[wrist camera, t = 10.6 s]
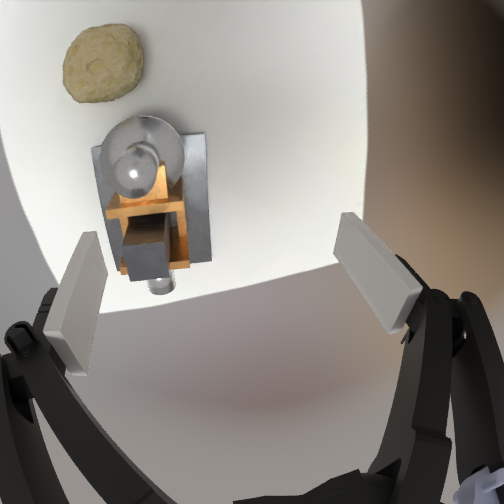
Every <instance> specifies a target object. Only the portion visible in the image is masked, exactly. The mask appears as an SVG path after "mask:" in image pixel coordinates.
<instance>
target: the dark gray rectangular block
mask: <svg viewBox="0 0 504 504" xmlns="http://www.w3.org/2000/svg"><path fill="white" fill-rule="evenodd" d="M170 240H171V216H170V212H164V213H155V214H146V215H138V216H130V219H129V223H128V226H127V229H126V232H125V236H124V239H123V243H122V246H121V247H122V251H123V255H124V259H125V263H126V267H127V271H128V275H129V278H130V282H132V281H141V280H151V279H160V278H170Z"/></svg>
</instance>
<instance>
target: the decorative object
mask: <svg viewBox="0 0 504 504" xmlns="http://www.w3.org/2000/svg"><path fill="white" fill-rule="evenodd" d="M143 61H144V59H143V52H142V48H141V44H140V42H139V40H138V36H137V35H136V32H135V31H134V30H133V29H132V28H130V27H129V26H127V25H124V24H108V25H103V26H101V27H91V28H89V29H87V30H84V31H83V32H81V34H80V35H78V36H77V37H76V39H75V40H74V41H73V42H72V44H71V46H70V47H69V49H68V50H67V53H66V57H65V60H64V63H63V85H64V86H65V87H66V90H67V92H68V93H69V94H70V95H71V96H72V97H73V99H74V100H75V101H77V102H79V103H98V102H107V101H113V100H115V99H116V98H120V97H122V96H123V95H125V94H126V93H128V92H130V91H131V90H132V89H133V88H134V87H135V86H136V85H137V83H138V81H139V79H140V78H141V72H142V67H143Z"/></svg>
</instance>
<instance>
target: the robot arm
mask: <svg viewBox="0 0 504 504" xmlns="http://www.w3.org/2000/svg"><path fill="white" fill-rule="evenodd" d="M333 254H334V255H335V257H336V258H337V259H338V261H339V262H340V264H341V265H342V266H343V268H344V269H345V271H346V272H347V274H348V275H349V276H350V278H351V279H352V281H353V282H354V284H355V285H356V286H357V288H358V289H359V291H360V292H361V294H362V295H363V297H364V298H365V300H366V301H367V303H368V304H369V306H370V307H371V309H372V310H373V312H374V313H375V315H376V316H377V318H378V319H379V321H380V322H381V324H382V326H383V327H384V329H385V330H386V332H387V333H388V335H390V334H393V333H397V332H400V331H401V330H402V328H403V326H404V324H405V322H406V323H407V325H408V326H409V329H408V330H407V332H406V334H405V336H404V338H403V339H402V341H401V344H403V342H404V341H405V346H404V352H403V357H402V363H401V368H400V373H399V378H398V383H397V388H396V391H395V396H394V400H393V404H392V408H391V412H390V415H389V419H388V423H387V427H386V430H385V433H384V437H383V440H382V443H381V446H380V449H379V452H378V454H377V457H376V458H375V459H374V461H373V462H372V464H371V466H370V468H369V470H368V472H367V473H360V471H359V469H357V470H354V471H352V472H349V473H346V474H343V475H341V476H338V477H335V478H332V479H330V480H328V481H326V482H325V483H323V484H321V485H319V486H318V487H316V488H314V489H312V490H311V491H309V492H307V493H305V494H303V495H298V496H262V497H257V498H251V499H245V500H238V501H233V504H444V503H442V502H440V499H441V495H442V492H443V488H444V483H445V479H446V475H447V470H448V465H449V460H450V455H451V449H452V441H451V439H450V438H448V437H446V426H447V418H448V409H449V401H450V395H451V402H452V410H453V420H454V430H455V444H456V463H457V473H458V480H459V484H460V488H459V490H458V491H456V492H455V494H454V495H453V501H454V502H455V503H456V504H504V362H503V359H502V356H501V353H500V350H499V347H498V344H497V341H496V338H495V335H494V332H493V330H492V327H491V324H490V322H489V319H488V317H487V314H486V312H485V310H484V307H483V304H482V302H481V301H480V299H479V298H478V297H477V295H475V294H474V293H472V292H467V291H465V292H463V293H462V294H461V296H460V298H459V299H450V298H449V297H448V295H447V294H445V293H444V292H443V291H440V290H438V289H430V288H429V286H428V285H427V284H426V283H425V282H424V281H423V280H422V279H421V277H420V276H419V275H418V274H417V273H415V271H414V270H413V268H411V267H410V265H409V264H408V263H407V262H406V261H405V260H404V259H403V258H401V257H400V256H398V255H394V254H393V253H392V252H391V251H390V250H389V249H388V247H386V245H385V244H384V243H383V242H382V241H381V240H380V239H379V238H378V237H377V236H376V235H375V234H374V233H373V232H372V231H371V230H370V229H369V228H368V227H367V226H366V225H365V223H364V222H363V221H362V220H361V219H360V218H359V217H358V216H357V215H356V214H355V213H354V212H347V213H342V214H341V219H340V224H339V229H338V233H337V238H336V243H335V247H334V252H333ZM107 276H108V272H107V269H106V265H105V262H104V258H103V255H102V251H101V247H100V243H99V240H98V236H97V232H96V231H91V232H83V234H82V236H81V238H80V240H79V242H78V244H77V246H76V248H75V250H74V253H73V255H72V257H71V259H70V262H69V264H68V266H67V268H66V271H65V273H64V275H63V278H62V280H61V283H60V285H59V288H51V289H50V290H49V291H48V292H47V293H46V294H45V295H44V298H43V300H42V302H41V306H40V308H39V310H38V313H37V315H36V318H35V321H34V323H33V326H31V325H30V324H29V323H28V322H25V321H20V322H17V323H15V324H13V325H12V326H11V327H10V328H9V329H8V330H7V332H6V334H5V338H4V340H5V344H6V345H7V347H8V348H9V349H10V351H11V352H12V353H9V354H6V355H2V356H1V354H0V498H1V501H2V503H3V504H69V502H68V500H67V498H66V495H65V493H64V491H63V489H62V487H61V484H60V482H59V480H58V478H57V475H56V472H55V470H54V467H53V465H52V462H51V459H50V457H49V454H48V451H47V449H46V445H45V442H44V439H43V436H42V433H41V430H40V426H39V423H38V419H37V416H36V412H35V408H34V404H33V400H32V398H35V400H36V402H37V404H38V406H39V408H40V409H41V411H42V413H43V415H44V417H45V418H46V420H47V422H48V424H49V425H50V427H51V429H52V430H53V432H54V433H55V435H56V437H57V438H58V440H59V441H60V443H61V444H62V446H63V447H64V449H65V450H66V452H67V453H68V455H69V456H70V458H71V459H72V460H73V462H74V463H75V465H76V466H77V467H78V468H79V470H80V471H81V473H82V474H83V475H84V476H85V478H86V479H87V480H88V482H89V483H90V484H91V485H92V487H93V488H94V489H95V490H96V491H97V493H98V494H99V495H100V496H101V497H102V498H103V500H104V501H105V502H106V503H107V504H177V503H176V502H175V501H173V500H172V499H171V498H170V497H169V496H167V495H166V494H165V493H164V492H163V491H162V490H161V489H160V488H159V487H157V486H156V485H155V484H154V483H153V482H152V481H151V480H150V479H149V478H148V477H147V476H146V475H145V474H144V473H143V472H142V471H141V470H140V469H139V468H138V467H137V466H136V465H135V464H134V463H133V462H132V461H131V460H130V459H129V458H128V457H127V456H126V454H125V453H124V452H123V451H122V450H121V449H120V448H119V447H118V446H117V444H116V443H115V442H114V441H113V440H112V439H111V437H110V436H109V435H108V434H107V433H106V431H105V430H104V429H103V428H102V426H101V425H100V424H99V423H98V422H97V420H96V419H95V418H94V416H93V415H92V414H91V412H90V411H89V410H88V409H87V407H86V406H85V404H84V403H83V402H82V400H81V399H80V397H79V396H78V395H77V393H76V392H75V390H74V389H73V387H72V386H71V384H70V383H69V381H68V380H67V379H66V377H65V370H66V368H67V370H68V371H69V372H70V374H71V375H74V376H87V375H88V369H89V362H90V356H91V349H92V344H93V339H94V333H95V328H96V323H97V318H98V314H99V309H100V305H101V300H102V296H103V292H104V288H105V284H106V280H107ZM465 332H466V339H465V338H464V334H465Z"/></svg>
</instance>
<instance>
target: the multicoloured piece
mask: <svg viewBox="0 0 504 504" xmlns="http://www.w3.org/2000/svg"><path fill="white" fill-rule="evenodd" d="M91 152H92V158H93V165H94V171H95V177H96V182H97V188H98V193H99V198H100V203H101V208H102V212H103V217H104V221H105V226H106V230H107V234H108V238H109V242H110V246H111V250H112V254H113V257H114V261H115V264H116V268H117V271H120V272H121V275H126V274H128V271H127V267H126V263H125V259H124V255H123V251H122V247H121V246H122V243H123V239H124V236H125V232H126V229H127V226H128V223H129V219H130V216H138V215H146V214H155V213H164V212H170V216H171V240H170V278H160V279H151V280H147V284H148V288H149V291H150V292H151V293H153V294H156V295H164V294H168V293H170V292H171V291H173V290H174V288H175V286H176V282H175V277H174V271H173V269H182V268H190V263H199V262H208V261H212V257H211V243H210V228H209V211H208V192H207V171H206V144H205V133H195V134H183V135H179V134H178V132H177V131H176V130H175V129H174V128H173V127H172V126H171V125H170V124H169V123H167V122H166V121H164V120H162V119H160V118H157V117H153V116H145V115H143V116H135V117H132V118H129V119H126V120H124V121H122V122H121V123H120V124H118V125H117V126H115V127H114V128H113V129H112V130H111V131H110V132H109V134H108V135H107V136H106V138H105V140H104V142H103V144H102V145H101V146H96V147H93V148H91Z"/></svg>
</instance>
